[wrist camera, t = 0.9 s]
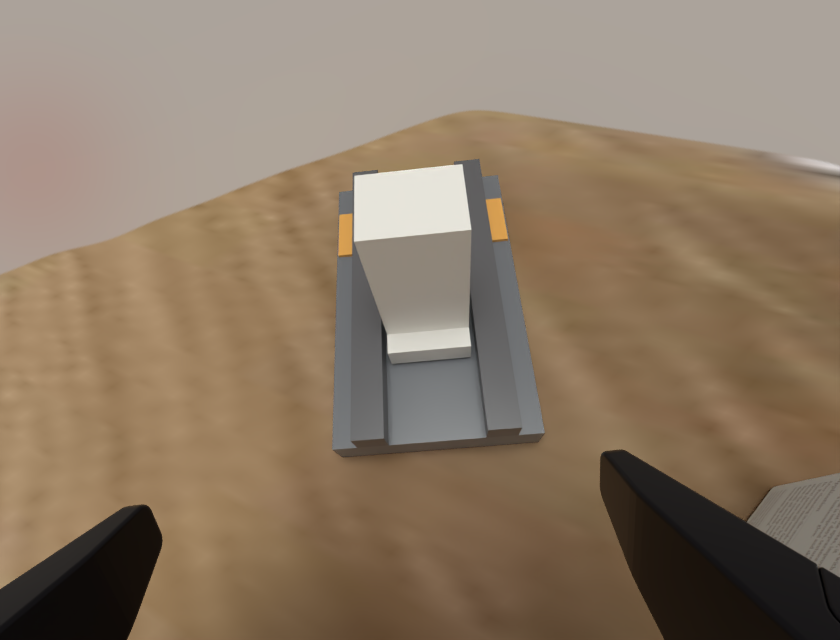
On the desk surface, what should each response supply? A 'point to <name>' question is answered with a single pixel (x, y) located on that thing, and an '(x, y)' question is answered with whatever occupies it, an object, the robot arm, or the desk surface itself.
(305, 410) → the desk surface
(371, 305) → the switch base
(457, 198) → the switch tab
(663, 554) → the robot arm
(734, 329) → the desk surface
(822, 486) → the small box
